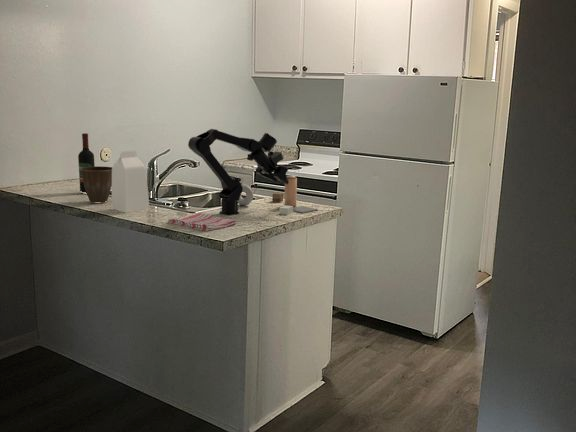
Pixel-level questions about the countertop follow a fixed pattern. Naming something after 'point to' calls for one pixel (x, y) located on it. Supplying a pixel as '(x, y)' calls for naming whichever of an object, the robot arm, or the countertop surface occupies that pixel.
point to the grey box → (286, 210)
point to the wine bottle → (85, 159)
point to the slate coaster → (304, 209)
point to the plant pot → (97, 182)
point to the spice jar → (291, 191)
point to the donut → (248, 196)
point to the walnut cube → (277, 197)
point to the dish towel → (203, 222)
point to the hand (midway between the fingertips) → (281, 182)
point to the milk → (129, 183)
